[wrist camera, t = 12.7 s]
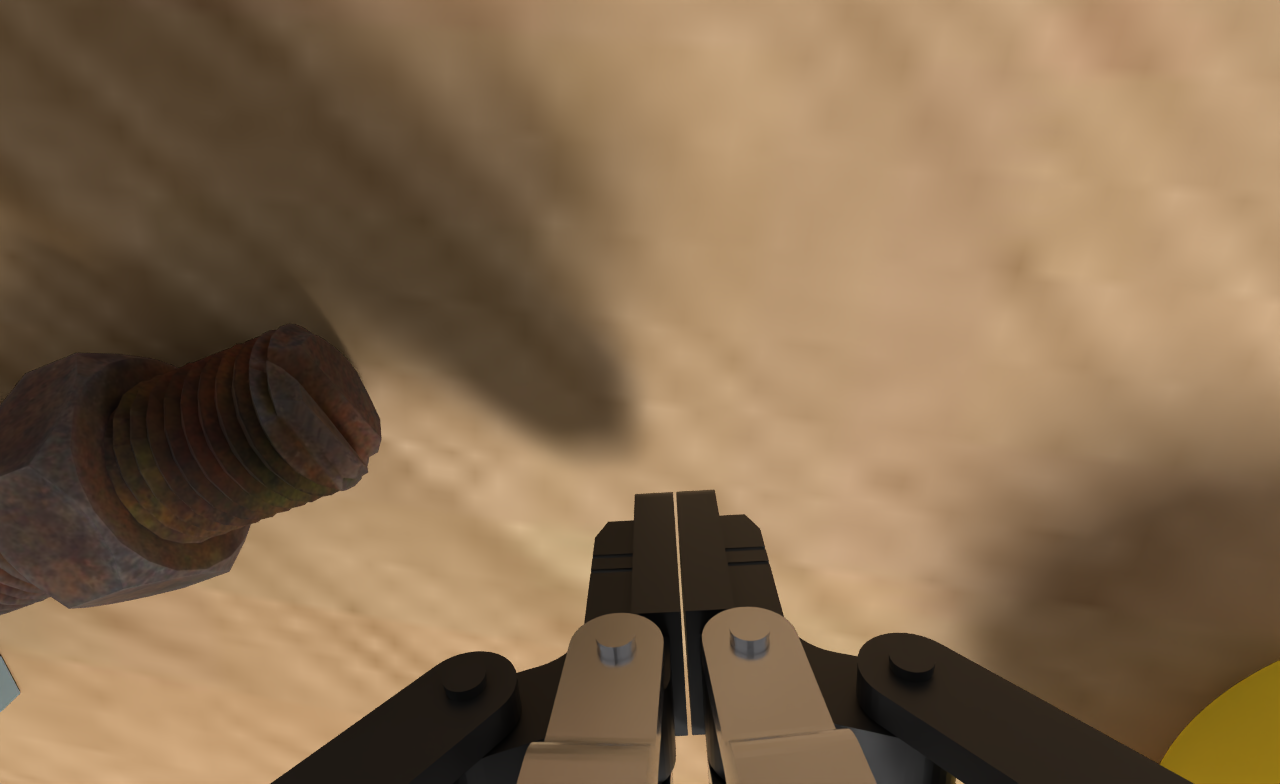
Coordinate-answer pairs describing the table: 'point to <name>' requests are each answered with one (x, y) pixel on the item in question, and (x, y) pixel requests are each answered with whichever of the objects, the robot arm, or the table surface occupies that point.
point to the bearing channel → (6, 686)
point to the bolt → (168, 463)
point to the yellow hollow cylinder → (1233, 736)
